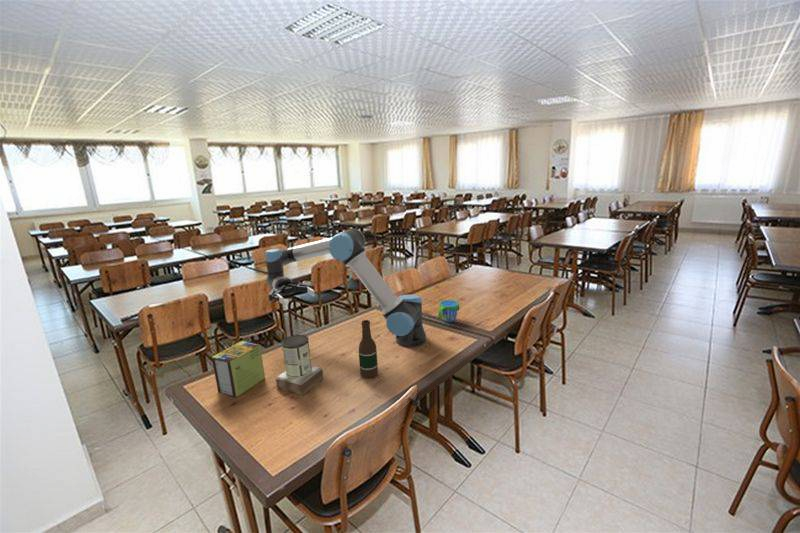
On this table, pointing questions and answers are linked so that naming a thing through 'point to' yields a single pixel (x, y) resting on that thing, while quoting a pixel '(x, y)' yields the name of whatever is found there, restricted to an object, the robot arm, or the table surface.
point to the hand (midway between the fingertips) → (298, 297)
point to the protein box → (238, 368)
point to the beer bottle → (367, 353)
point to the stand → (299, 381)
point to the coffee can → (297, 356)
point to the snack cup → (448, 310)
